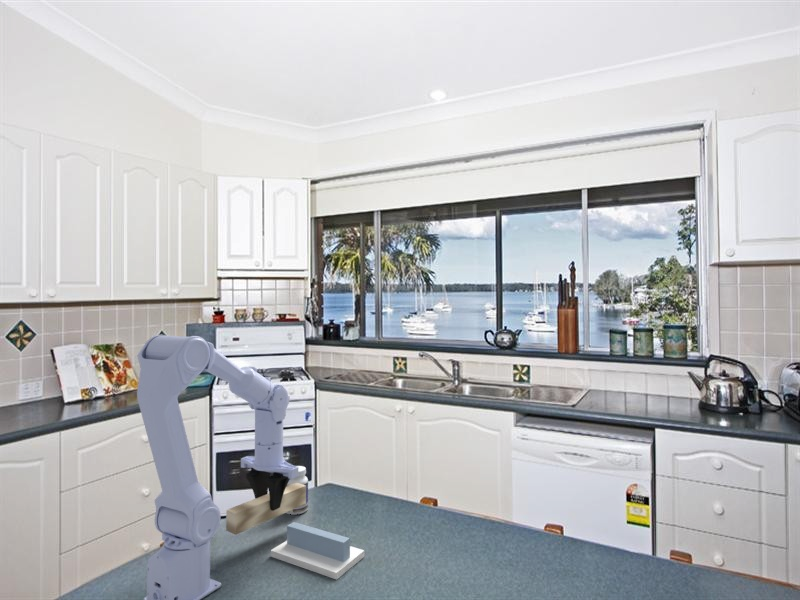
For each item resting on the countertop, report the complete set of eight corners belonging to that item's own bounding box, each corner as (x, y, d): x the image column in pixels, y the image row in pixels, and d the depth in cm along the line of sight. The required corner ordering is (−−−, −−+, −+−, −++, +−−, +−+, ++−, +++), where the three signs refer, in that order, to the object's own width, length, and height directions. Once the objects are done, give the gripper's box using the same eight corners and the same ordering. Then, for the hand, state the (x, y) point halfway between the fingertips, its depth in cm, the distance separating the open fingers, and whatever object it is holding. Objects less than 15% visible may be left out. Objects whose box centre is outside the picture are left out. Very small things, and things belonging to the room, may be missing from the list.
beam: (235, 534, 91) (235, 513, 91) (226, 530, 93) (226, 509, 93) (305, 503, 106) (306, 485, 106) (296, 500, 107) (296, 482, 107)
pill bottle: (311, 506, 116) (311, 465, 116) (304, 516, 111) (304, 473, 111) (288, 505, 117) (288, 464, 117) (280, 515, 111) (280, 472, 111)
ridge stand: (336, 579, 85) (336, 552, 85) (270, 556, 93) (270, 531, 93) (364, 556, 93) (364, 531, 93) (301, 537, 101) (301, 514, 101)
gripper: (308, 441, 99) (308, 506, 99) (258, 432, 106) (257, 493, 106) (284, 450, 93) (284, 520, 93) (233, 440, 100) (232, 504, 100)
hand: (268, 506), depth 99 cm, fingers closed on beam, 3 cm apart
